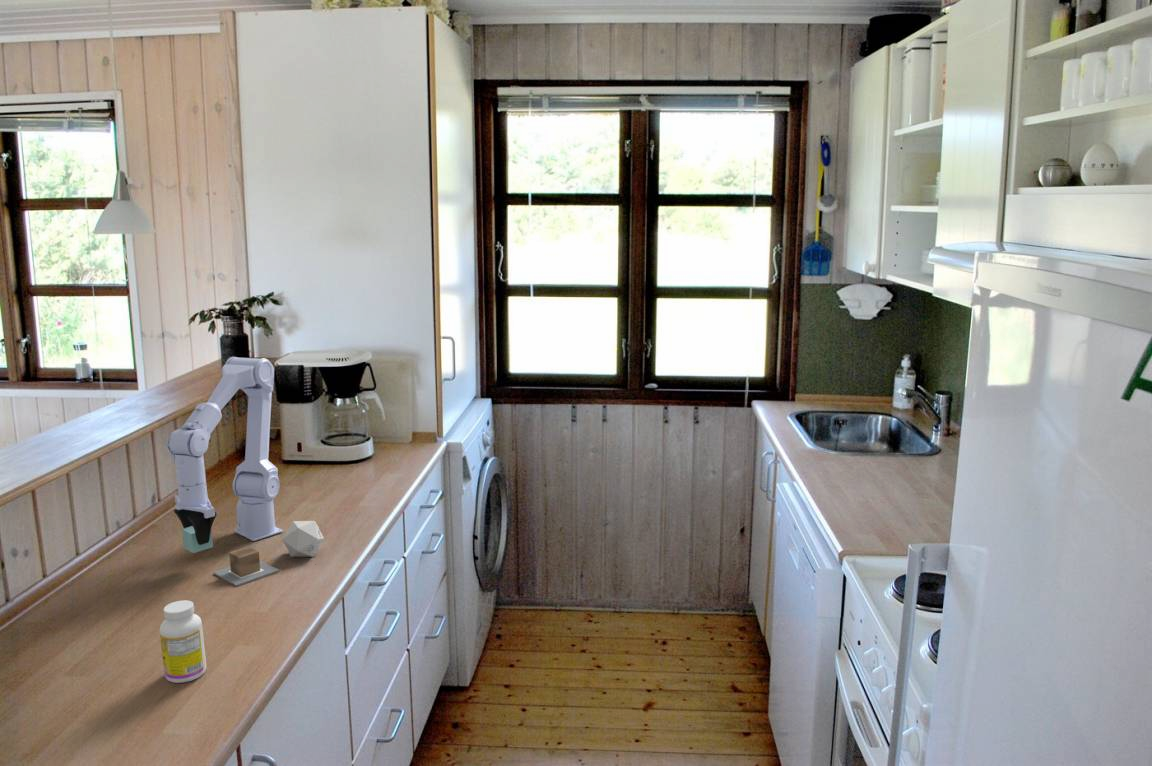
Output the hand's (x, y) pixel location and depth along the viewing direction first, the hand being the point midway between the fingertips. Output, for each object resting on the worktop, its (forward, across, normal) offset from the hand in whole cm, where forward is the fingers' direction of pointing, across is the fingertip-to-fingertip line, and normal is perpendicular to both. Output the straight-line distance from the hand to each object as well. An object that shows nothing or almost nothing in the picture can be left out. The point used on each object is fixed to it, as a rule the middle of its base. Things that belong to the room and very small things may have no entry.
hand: (198, 540), depth 190 cm
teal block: (+2, 0, 0) cm, 2 cm away
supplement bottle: (+7, +41, -23) cm, 47 cm away
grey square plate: (+7, +10, +5) cm, 13 cm away
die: (+7, +11, +19) cm, 23 cm away
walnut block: (+6, +10, +5) cm, 13 cm away
